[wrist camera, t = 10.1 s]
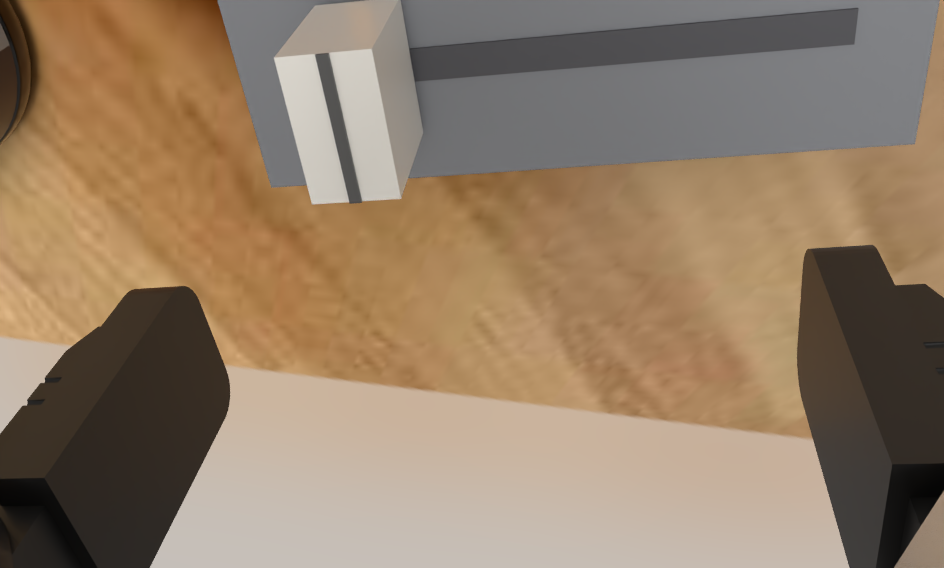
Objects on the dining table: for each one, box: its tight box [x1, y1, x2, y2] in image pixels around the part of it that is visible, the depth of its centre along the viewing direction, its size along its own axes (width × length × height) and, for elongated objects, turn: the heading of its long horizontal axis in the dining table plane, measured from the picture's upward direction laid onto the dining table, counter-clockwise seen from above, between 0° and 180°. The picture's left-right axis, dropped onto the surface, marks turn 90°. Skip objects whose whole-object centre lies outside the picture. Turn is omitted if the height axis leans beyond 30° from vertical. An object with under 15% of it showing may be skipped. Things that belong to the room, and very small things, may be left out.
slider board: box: [218, 0, 940, 188], centre depth 31 cm, size 24×9×2 cm, turn 97°
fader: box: [274, 0, 423, 204], centre depth 29 cm, size 3×5×5 cm, turn 7°
